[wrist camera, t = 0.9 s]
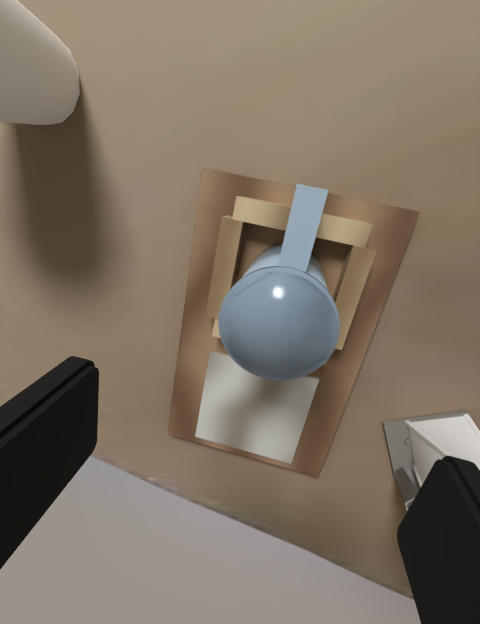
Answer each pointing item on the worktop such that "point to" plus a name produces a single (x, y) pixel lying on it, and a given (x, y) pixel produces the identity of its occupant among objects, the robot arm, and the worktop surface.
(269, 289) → the blue cylinder with tab
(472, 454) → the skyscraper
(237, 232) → the cradle
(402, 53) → the worktop surface
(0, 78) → the foam cup
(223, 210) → the board
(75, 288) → the worktop surface
